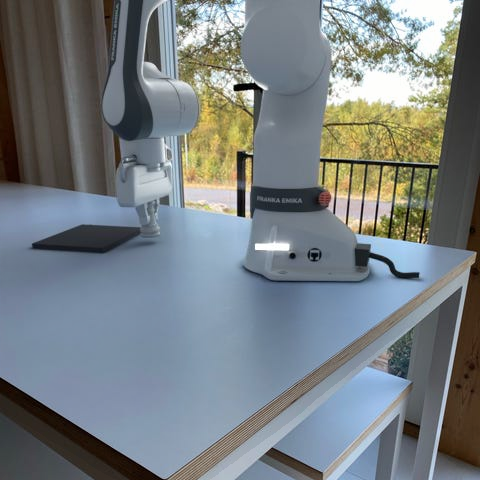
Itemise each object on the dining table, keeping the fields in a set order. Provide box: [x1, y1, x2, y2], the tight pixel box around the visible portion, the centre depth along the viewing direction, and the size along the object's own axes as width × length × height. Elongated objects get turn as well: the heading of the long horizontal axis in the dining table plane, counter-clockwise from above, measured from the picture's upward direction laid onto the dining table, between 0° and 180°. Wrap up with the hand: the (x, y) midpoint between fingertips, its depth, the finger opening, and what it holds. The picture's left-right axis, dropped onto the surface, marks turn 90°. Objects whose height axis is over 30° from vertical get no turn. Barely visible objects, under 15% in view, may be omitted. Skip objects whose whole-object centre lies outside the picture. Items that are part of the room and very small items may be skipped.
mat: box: [31, 223, 142, 254], centre depth 105 cm, size 16×20×1 cm
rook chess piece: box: [139, 200, 162, 239], centre depth 100 cm, size 4×4×8 cm
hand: (149, 222), depth 101 cm, fingers closed on rook chess piece, 3 cm apart
